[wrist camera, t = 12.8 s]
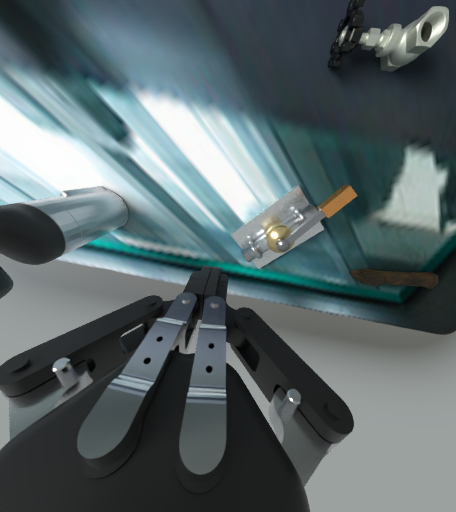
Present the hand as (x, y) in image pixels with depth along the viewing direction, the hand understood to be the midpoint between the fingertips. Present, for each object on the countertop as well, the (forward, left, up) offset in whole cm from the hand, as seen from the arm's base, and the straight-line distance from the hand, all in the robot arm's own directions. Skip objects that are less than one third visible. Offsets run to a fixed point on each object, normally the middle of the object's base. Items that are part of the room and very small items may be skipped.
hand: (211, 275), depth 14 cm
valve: (-5, +32, -29) cm, 44 cm away
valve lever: (+10, +11, -21) cm, 26 cm away
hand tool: (+39, +21, -29) cm, 53 cm away
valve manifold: (+11, +5, -29) cm, 31 cm away
